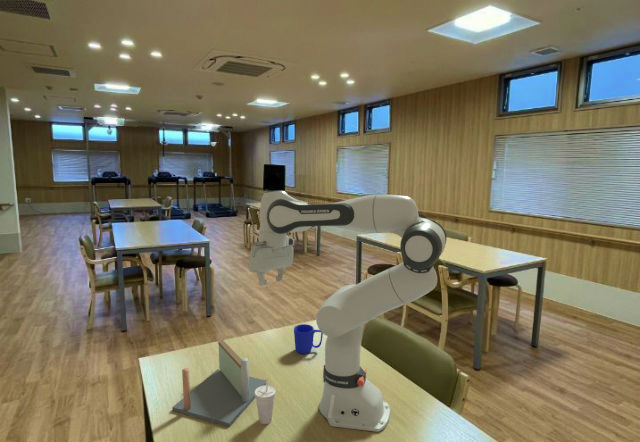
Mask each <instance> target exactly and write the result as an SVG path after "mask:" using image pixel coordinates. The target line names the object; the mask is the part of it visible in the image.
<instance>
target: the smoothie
mask: <svg viewBox="0 0 640 442" xmlns="http://www.w3.org/2000/svg"><path fill="white" fill-rule="evenodd" d="M265 380H266V385H264V386H260V387H258V388H257V389H256V390H255V394H254V396H255V401H256V406H257V407H256V408H257V409H256V410H257V413H258V421H259V423H260V424H261V425H268V424H270V423H271V422H272V419H273V410H274V404H275V397H276V396H277V395H276V392H277V391H276V390H277V389H276V388H275V387H274V386H272V385H269V381H268V377H265Z"/></svg>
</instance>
